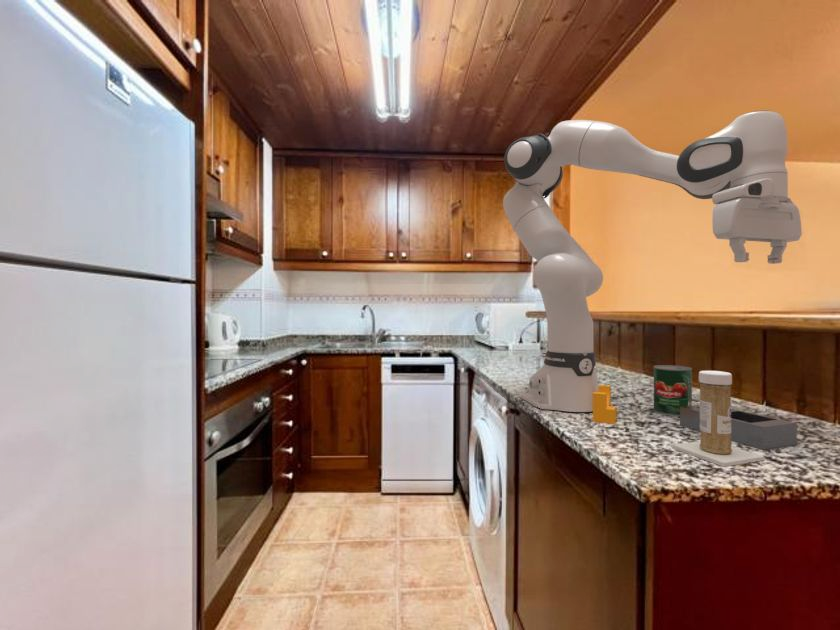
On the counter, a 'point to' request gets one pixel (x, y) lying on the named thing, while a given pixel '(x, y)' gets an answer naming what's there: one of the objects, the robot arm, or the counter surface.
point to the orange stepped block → (603, 406)
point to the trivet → (721, 459)
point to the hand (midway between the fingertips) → (758, 262)
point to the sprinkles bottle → (715, 411)
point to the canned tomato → (672, 389)
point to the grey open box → (749, 428)
